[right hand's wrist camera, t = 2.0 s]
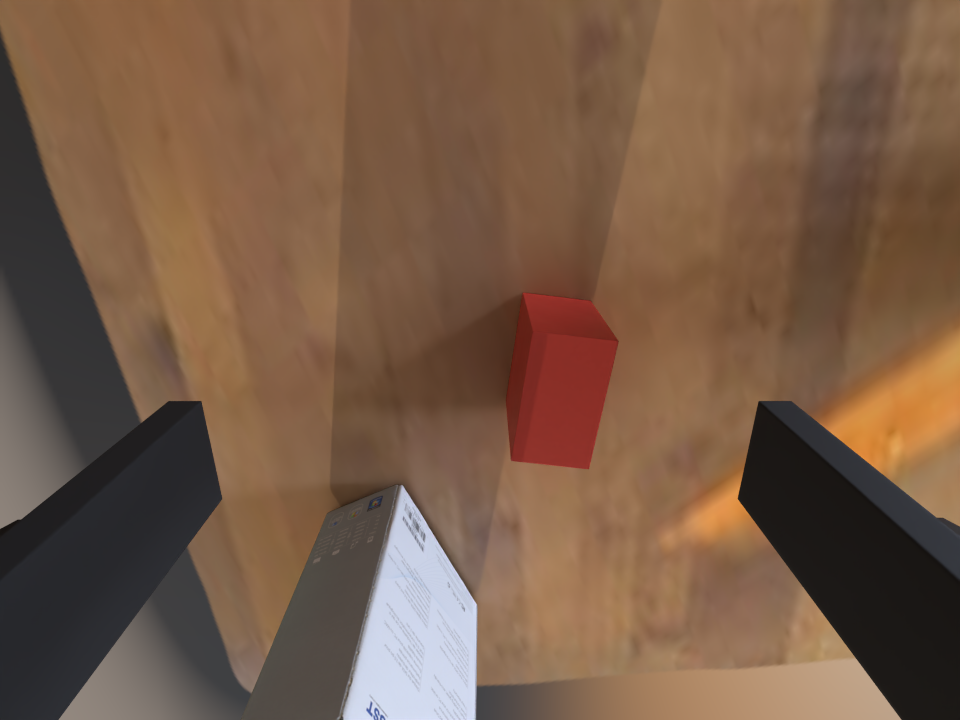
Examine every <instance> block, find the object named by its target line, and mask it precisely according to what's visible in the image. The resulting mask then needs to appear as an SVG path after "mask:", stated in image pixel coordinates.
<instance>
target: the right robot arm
mask: <svg viewBox="0 0 960 720" xmlns="http://www.w3.org/2000/svg"><path fill="white" fill-rule="evenodd" d="M221 500H222V495H221V491H220V486H219V481H218V477H217V472H216V467H215V463H214V458H213V453H212V449H211V444H210V439H209V435H208V430H207V425H206V421H205V416H204V411H203V407H202V402H201V401H168V402H167V403H166V404H165V405H163V406H162V407H161V408H160V409H158V410H157V411H156V412H155V413H153V414H152V415H151V416H150V417H148V418H147V419H146V420H145V421H143V422H142V423H141V424H140V425H138V426H137V427H136V428H135V429H134V430H132V431H131V432H130V433H129V434H127V435H126V436H125V437H124V438H122V439H121V440H120V441H119V442H117V443H116V444H115V445H114V446H112V447H111V448H110V449H109V450H107V451H106V452H105V453H104V454H102V455H101V456H100V457H99V458H97V459H96V460H95V461H94V462H92V463H91V464H90V465H89V466H87V467H86V468H85V469H84V470H82V471H81V472H80V473H79V474H78V475H76V476H75V477H74V478H72V479H71V480H70V481H69V482H67V483H66V484H65V485H64V486H63V487H61V488H60V489H59V490H58V491H56V492H55V493H54V494H53V495H51V496H50V497H49V498H48V499H46V500H45V501H44V502H43V503H41V504H40V505H39V506H38V507H36V508H35V509H34V510H33V511H31V512H30V513H29V514H28V515H26V516H25V517H24V518H23V519H21V520H16V521H14V522H13V523H11V524H9V525H7V526H5V527H3V528H1V529H0V720H59V718H60V717H61V715H62V714H63V713H64V711H65V710H66V709H67V707H68V706H69V705H70V703H71V702H72V701H73V699H74V698H75V697H76V695H77V694H78V693H79V691H80V690H81V689H82V687H83V686H84V684H85V683H86V682H87V680H88V679H89V678H90V676H91V675H92V674H93V672H94V671H95V670H96V668H97V667H98V666H99V664H100V663H101V662H102V660H103V659H104V657H105V656H106V655H107V653H108V652H109V651H110V649H111V648H112V647H113V645H114V644H115V643H116V641H117V640H118V639H119V637H120V636H121V635H122V633H123V632H124V631H125V629H126V628H127V627H128V625H129V624H130V622H131V621H132V620H133V618H134V617H135V616H136V614H137V613H138V612H139V610H140V609H141V608H142V606H143V605H144V604H145V602H146V601H147V600H148V598H149V597H150V596H151V594H152V593H153V591H154V590H155V589H156V587H157V586H158V585H159V583H160V582H161V581H162V579H163V578H164V577H165V575H166V574H167V573H168V571H169V570H170V569H171V567H172V566H173V564H174V563H175V562H176V560H177V559H178V558H179V556H180V555H181V554H182V552H183V551H184V550H185V548H186V547H187V546H188V544H189V543H190V542H191V540H192V539H193V538H194V536H195V535H196V534H197V532H198V531H199V529H200V528H201V527H202V525H203V524H204V523H205V521H206V520H207V519H208V517H209V516H210V515H211V513H212V512H213V511H214V509H215V508H216V507H217V505H218V504H219V503H220V501H221ZM738 500H739V501H740V503H741V504H742V505H743V507H744V508H745V509H746V511H747V512H748V513H749V515H750V516H751V517H752V519H753V520H754V521H755V523H756V524H757V525H758V527H759V528H760V529H761V531H762V532H763V534H764V535H765V536H766V538H767V539H768V540H769V542H770V543H771V544H772V546H773V547H774V548H775V550H776V551H777V552H778V554H779V555H780V556H781V558H782V559H783V560H784V562H785V563H786V565H787V566H788V567H789V569H790V570H791V571H792V573H793V574H794V575H795V577H796V578H797V579H798V581H799V582H800V583H801V585H802V586H803V587H804V589H805V590H806V591H807V593H808V594H809V596H810V597H811V598H812V600H813V601H814V602H815V604H816V605H817V606H818V608H819V609H820V610H821V612H822V613H823V614H824V616H825V617H826V618H827V620H828V621H829V622H830V624H831V625H832V627H833V628H834V629H835V631H836V632H837V633H838V635H839V636H840V637H841V639H842V640H843V641H844V643H845V644H846V645H847V647H848V648H849V649H850V651H851V652H852V653H853V655H854V656H855V658H856V659H857V660H858V662H859V663H860V664H861V666H862V667H863V668H864V670H865V671H866V672H867V674H868V675H869V676H870V678H871V679H872V680H873V682H874V683H875V685H876V686H877V687H878V689H879V690H880V691H881V693H882V694H883V695H884V696H885V698H886V699H887V701H888V702H889V703H890V705H891V706H892V707H893V709H894V710H895V711H896V713H897V714H898V715H899V717H900V718H901V719H902V720H960V527H959V526H957V525H956V524H954V523H952V522H950V521H948V520H946V519H944V518H936V517H935V516H934V515H932V514H931V513H930V512H929V511H927V510H926V509H925V508H924V507H922V506H921V505H920V504H919V503H917V502H916V501H915V500H914V499H912V498H911V497H910V496H909V495H907V494H906V493H905V492H904V491H902V490H901V489H900V488H899V487H897V486H896V485H895V484H894V483H893V482H891V481H890V480H889V479H888V478H886V477H885V476H884V475H883V474H881V473H880V472H879V471H878V470H876V469H875V468H874V467H873V466H871V465H870V464H869V463H868V462H866V461H865V460H864V459H863V458H861V457H860V456H859V455H858V454H856V453H855V452H854V451H853V450H851V449H850V448H849V447H848V446H846V445H845V444H844V443H843V442H841V441H840V440H839V439H838V438H836V437H835V436H834V435H833V434H831V433H830V432H829V431H828V430H826V429H825V428H824V427H823V426H822V425H820V424H819V423H818V422H817V421H815V420H814V419H813V418H812V417H810V416H809V415H808V414H807V413H805V412H804V411H803V410H802V409H800V408H799V407H798V406H797V405H795V404H794V403H793V402H792V401H759V402H758V407H757V411H756V416H755V421H754V425H753V430H752V435H751V439H750V444H749V449H748V453H747V458H746V463H745V467H744V472H743V477H742V481H741V486H740V491H739V495H738Z"/></svg>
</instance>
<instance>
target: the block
mask: <svg viewBox="0 0 960 720" xmlns="http://www.w3.org/2000/svg"><path fill="white" fill-rule="evenodd" d="M617 346H618V340H617V338H616V337H615V335H614V334H613V333H612V331H611V330H610V328H609V327H608V325H607V324H606V322H605V321H604V320H603V318H602V317H601V315H600V314H599V312H598V311H597V309H596V308H595V307H594V305H593V304H592V302H591V301H588V300H580V299H572V298H563V297H555V296H547V295H538V294H530V293H522V300H521V306H520V312H519V319H518V325H517V332H516V338H515V345H514V351H513V358H512V364H511V371H510V377H509V384H508V390H507V397H506V407H507V419H508V430H509V442H510V454H511V461H517V462H526V463H535V464H545V465H554V466H563V467H573V468H582V469H589V466H590V462H591V458H592V453H593V449H594V445H595V440H596V436H597V432H598V428H599V423H600V419H601V415H602V410H603V406H604V402H605V397H606V393H607V389H608V385H609V380H610V376H611V372H612V367H613V363H614V359H615V354H616V350H617Z"/></svg>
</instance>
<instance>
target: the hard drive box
mask: <svg viewBox="0 0 960 720" xmlns="http://www.w3.org/2000/svg"><path fill="white" fill-rule="evenodd" d="M476 676H477V604H476V603H475V601H474V600H473V598H472V596H471V595H470V593H469V592H468V590H467V588H466V587H465V585H464V583H463V581H462V580H461V578H460V577H459V575H458V573H457V572H456V570H455V569H454V567H453V566H452V564H451V563H450V561H449V559H448V558H447V556H446V554H445V553H444V551H443V549H442V548H441V546H440V545H439V543H438V541H437V540H436V538H435V536H434V535H433V533H432V531H431V530H430V529H429V527H428V525H427V523H426V521H425V520H424V518H423V516H422V515H421V513H420V511H419V510H418V508H417V507H416V506H415V504H414V503H413V501H412V499H411V498H410V496H409V495H408V493H407V491H406V490H405V488H404V487H403V485H400V486H398V485H394V486H392V487H389V488H386V489H384V490H382V491H379V492H377V493H374V494H372V495H369V496H367V497H365V498H362V499H360V500H357V501H355V502H353V503H350V504H348V505H345V506H343V507H340V508H338V509H336V510H333V511H331V512H329V513H327V515H326V517H325V520H324V522H323V524H322V527H321V529H320V532H319V534H318V537H317V539H316V541H315V544H314V546H313V548H312V551H311V553H310V555H309V558H308V560H307V563H306V565H305V568H304V570H303V572H302V574H301V577H300V579H299V582H298V584H297V587H296V589H295V591H294V594H293V596H292V598H291V601H290V603H289V606H288V608H287V610H286V613H285V615H284V618H283V620H282V622H281V625H280V627H279V629H278V632H277V634H276V637H275V639H274V641H273V644H272V646H271V649H270V651H269V653H268V656H267V658H266V661H265V663H264V665H263V668H262V670H261V673H260V675H259V677H258V680H257V682H256V685H255V687H254V689H253V692H252V694H251V697H250V699H249V702H248V704H247V706H246V709H245V711H244V713H243V716H242V718H241V720H476Z"/></svg>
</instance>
